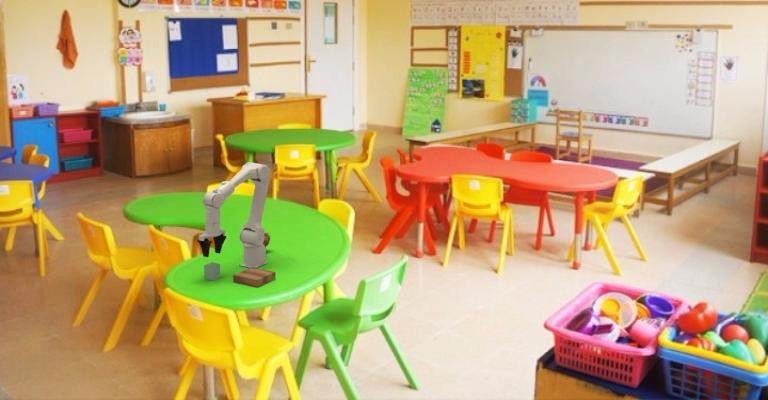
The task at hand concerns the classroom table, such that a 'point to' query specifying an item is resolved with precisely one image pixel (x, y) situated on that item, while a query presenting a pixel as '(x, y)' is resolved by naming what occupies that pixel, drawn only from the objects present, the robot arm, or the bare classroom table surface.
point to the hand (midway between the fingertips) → (211, 254)
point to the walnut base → (254, 277)
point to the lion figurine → (266, 239)
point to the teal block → (212, 271)
